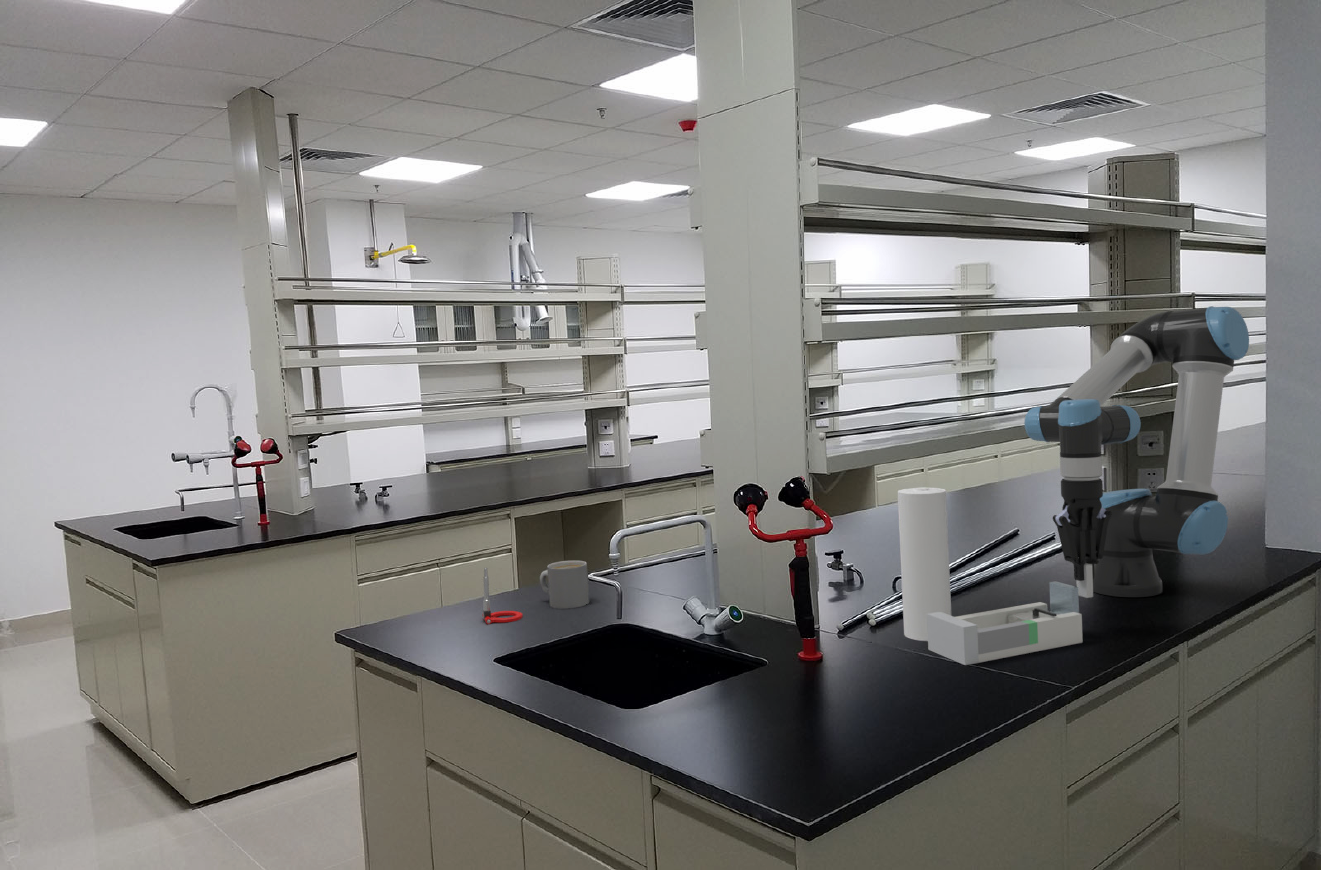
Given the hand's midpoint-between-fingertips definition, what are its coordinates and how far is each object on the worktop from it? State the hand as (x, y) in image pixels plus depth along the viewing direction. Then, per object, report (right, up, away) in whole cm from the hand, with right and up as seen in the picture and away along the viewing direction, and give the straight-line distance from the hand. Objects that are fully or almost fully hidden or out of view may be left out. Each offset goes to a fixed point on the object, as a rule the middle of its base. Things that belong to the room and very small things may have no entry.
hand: (1084, 595), depth 183 cm
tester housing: (-18, -9, -6) cm, 21 cm away
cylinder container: (-30, -9, +5) cm, 31 cm away
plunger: (-11, -6, -5) cm, 13 cm away
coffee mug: (-109, -11, +51) cm, 121 cm away
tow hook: (-122, -13, +39) cm, 129 cm away
